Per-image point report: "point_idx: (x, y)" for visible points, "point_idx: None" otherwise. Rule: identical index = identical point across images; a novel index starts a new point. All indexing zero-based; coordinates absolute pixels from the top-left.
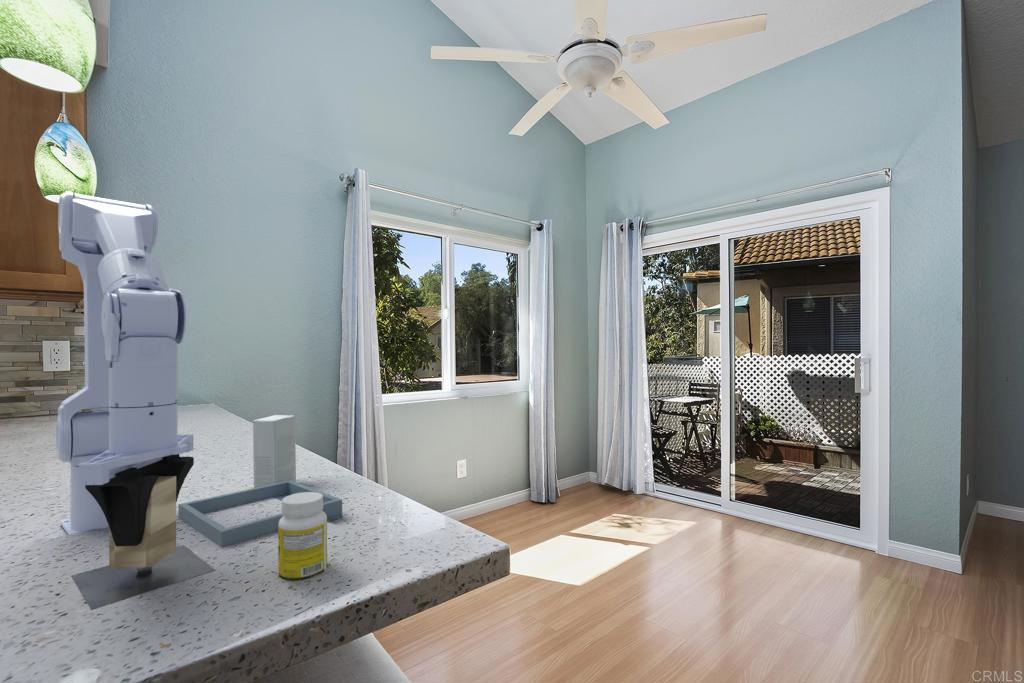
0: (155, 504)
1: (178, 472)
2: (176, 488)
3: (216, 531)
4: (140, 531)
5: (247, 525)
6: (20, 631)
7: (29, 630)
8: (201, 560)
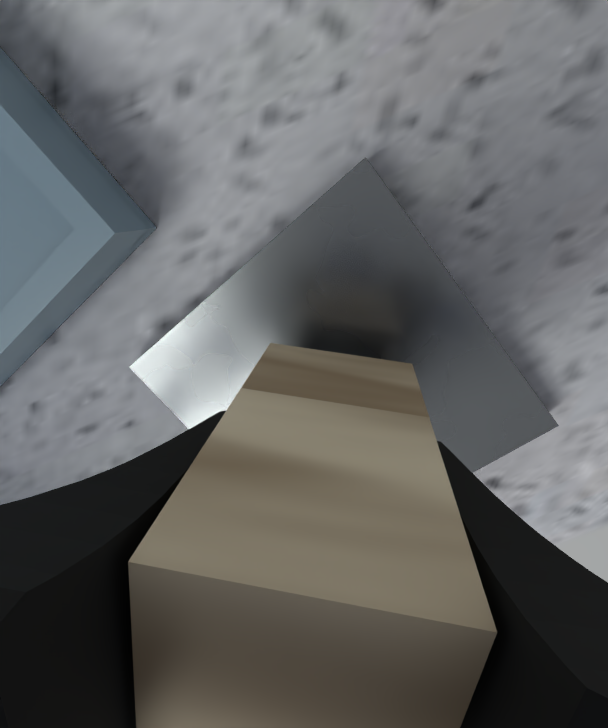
0: (410, 499)
1: (89, 575)
2: (148, 490)
3: (88, 266)
4: (455, 463)
5: (33, 139)
6: (553, 528)
7: (556, 514)
8: (266, 250)
